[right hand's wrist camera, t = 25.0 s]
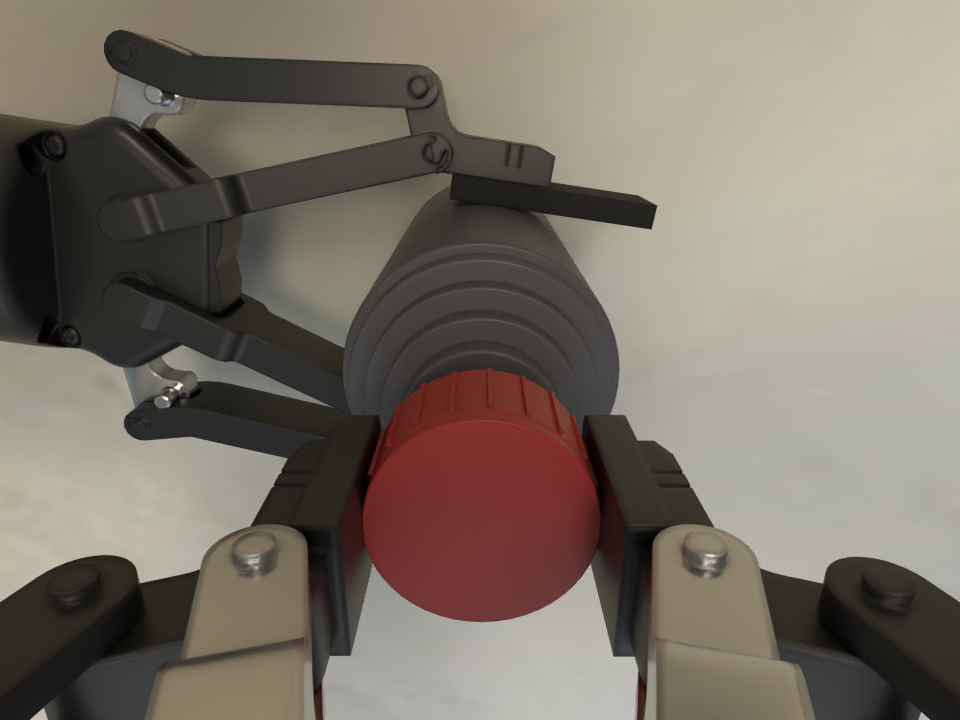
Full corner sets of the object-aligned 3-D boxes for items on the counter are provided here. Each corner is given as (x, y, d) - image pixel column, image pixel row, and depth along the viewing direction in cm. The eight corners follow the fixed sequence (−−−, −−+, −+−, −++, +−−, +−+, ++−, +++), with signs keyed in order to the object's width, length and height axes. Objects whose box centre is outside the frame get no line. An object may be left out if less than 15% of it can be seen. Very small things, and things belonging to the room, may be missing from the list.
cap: (613, 509, 12) (637, 581, 11) (429, 572, 13) (421, 652, 11) (541, 333, 11) (553, 379, 9) (341, 412, 12) (314, 470, 10)
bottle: (563, 184, 28) (720, 320, 10) (548, 333, 30) (650, 665, 12) (406, 175, 28) (265, 295, 10) (403, 325, 30) (288, 648, 12)
